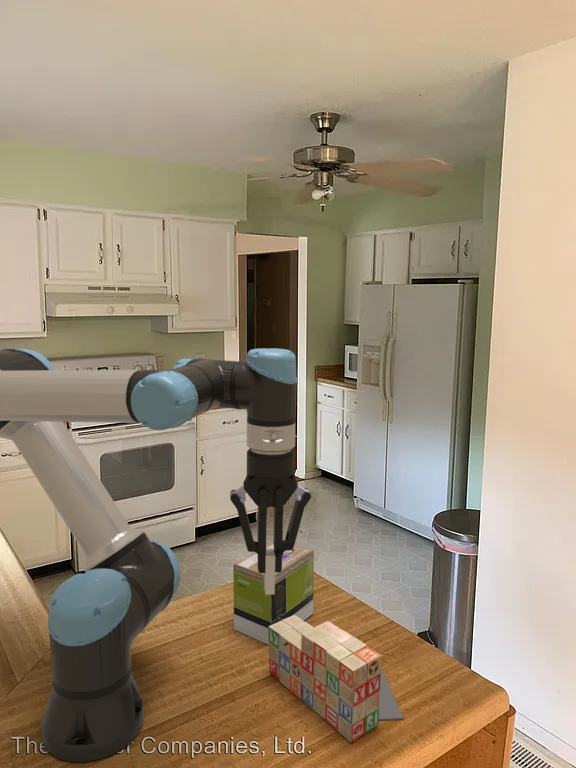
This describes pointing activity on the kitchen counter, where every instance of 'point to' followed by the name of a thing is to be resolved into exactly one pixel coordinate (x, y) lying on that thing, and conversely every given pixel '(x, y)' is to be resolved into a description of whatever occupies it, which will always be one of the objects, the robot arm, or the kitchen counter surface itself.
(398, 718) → the rubber pad
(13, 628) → the kitchen counter surface
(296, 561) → the tea box
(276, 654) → the stack of blocks
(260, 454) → the robot arm
